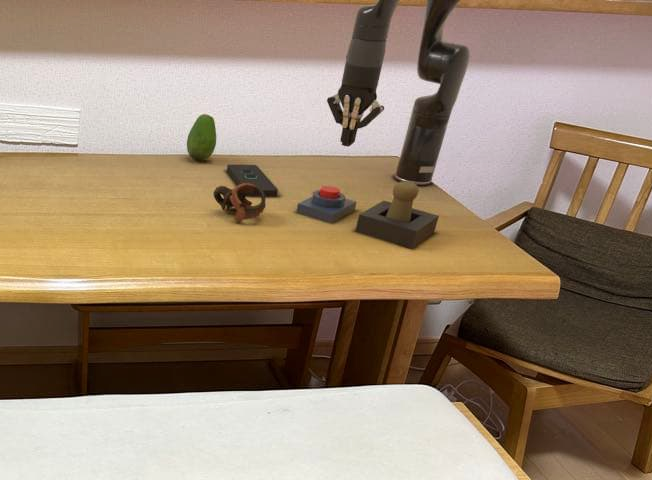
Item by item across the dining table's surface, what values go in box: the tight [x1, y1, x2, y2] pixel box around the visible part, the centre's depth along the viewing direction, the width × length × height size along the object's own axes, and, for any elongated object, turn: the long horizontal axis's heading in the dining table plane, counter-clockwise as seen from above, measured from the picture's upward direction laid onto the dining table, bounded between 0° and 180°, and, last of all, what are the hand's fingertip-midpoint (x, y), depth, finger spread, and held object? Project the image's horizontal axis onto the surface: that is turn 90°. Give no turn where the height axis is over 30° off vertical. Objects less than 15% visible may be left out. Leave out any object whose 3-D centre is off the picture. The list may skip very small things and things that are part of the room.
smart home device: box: [226, 163, 279, 198], centre depth 189 cm, size 8×2×20 cm
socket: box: [354, 200, 440, 249], centre depth 166 cm, size 13×13×4 cm
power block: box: [295, 189, 357, 224], centre depth 174 cm, size 12×9×4 cm
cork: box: [386, 181, 419, 223], centre depth 164 cm, size 6×6×11 cm
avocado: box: [186, 113, 217, 162], centre depth 200 cm, size 8×8×12 cm
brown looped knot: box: [213, 183, 267, 224], centre depth 168 cm, size 12×10×8 cm
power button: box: [319, 185, 341, 199], centre depth 173 cm, size 4×4×2 cm
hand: (346, 145), depth 168 cm, fingers closed
